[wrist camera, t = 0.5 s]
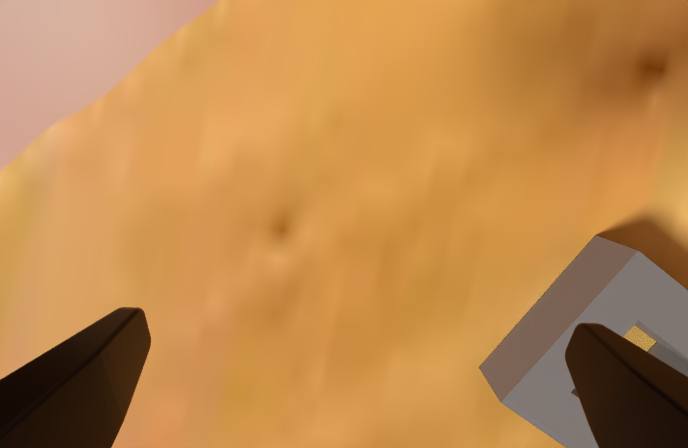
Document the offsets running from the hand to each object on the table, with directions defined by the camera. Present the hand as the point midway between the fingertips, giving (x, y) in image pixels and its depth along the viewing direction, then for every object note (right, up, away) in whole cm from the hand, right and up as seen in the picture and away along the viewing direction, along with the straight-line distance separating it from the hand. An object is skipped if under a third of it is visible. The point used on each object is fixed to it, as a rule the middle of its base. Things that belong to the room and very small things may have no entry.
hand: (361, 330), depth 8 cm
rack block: (+16, -6, +17) cm, 24 cm away
